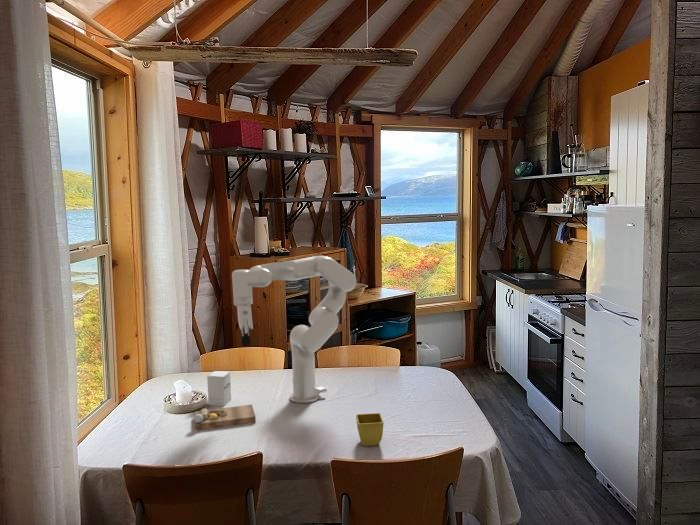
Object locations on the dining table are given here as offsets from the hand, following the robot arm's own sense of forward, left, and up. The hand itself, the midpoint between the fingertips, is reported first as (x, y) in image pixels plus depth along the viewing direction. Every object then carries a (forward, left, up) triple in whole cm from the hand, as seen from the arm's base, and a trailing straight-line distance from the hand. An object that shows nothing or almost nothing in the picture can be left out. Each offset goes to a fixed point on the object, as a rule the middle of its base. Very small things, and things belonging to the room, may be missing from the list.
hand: (246, 345), depth 218 cm
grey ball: (+20, +14, -23) cm, 33 cm away
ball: (+14, +9, -25) cm, 30 cm away
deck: (+10, +9, -27) cm, 30 cm away
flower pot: (-37, +46, -27) cm, 65 cm away
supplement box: (+11, -11, -27) cm, 31 cm away
